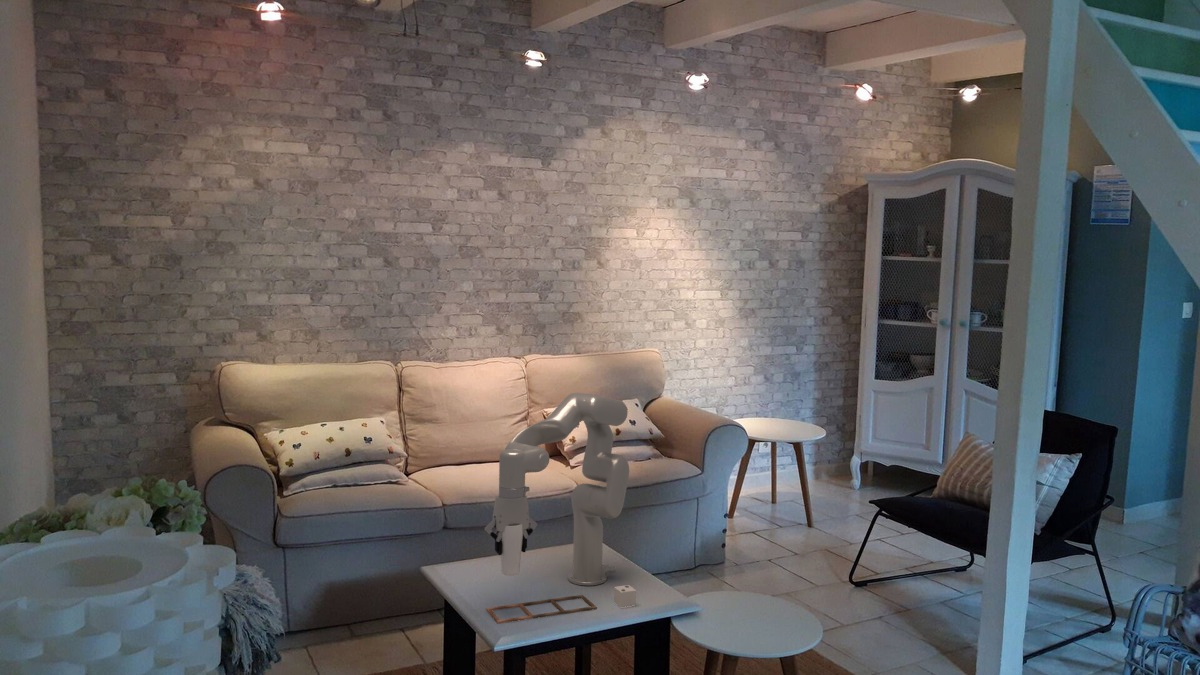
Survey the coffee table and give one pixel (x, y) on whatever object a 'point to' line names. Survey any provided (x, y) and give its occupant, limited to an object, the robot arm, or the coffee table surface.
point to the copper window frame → (553, 601)
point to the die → (624, 596)
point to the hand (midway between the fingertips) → (510, 551)
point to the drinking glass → (511, 549)
